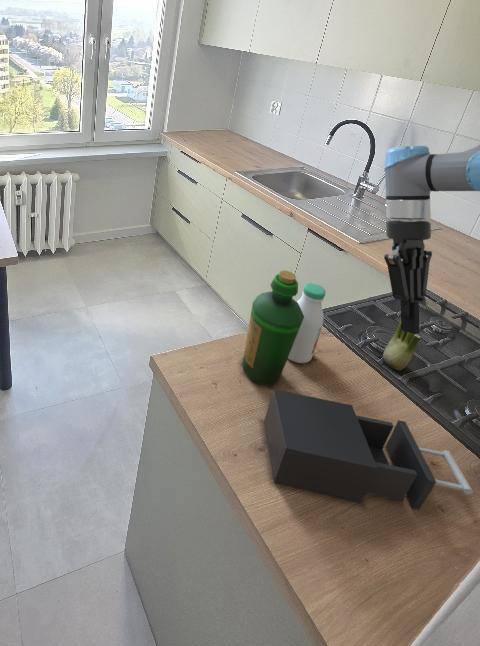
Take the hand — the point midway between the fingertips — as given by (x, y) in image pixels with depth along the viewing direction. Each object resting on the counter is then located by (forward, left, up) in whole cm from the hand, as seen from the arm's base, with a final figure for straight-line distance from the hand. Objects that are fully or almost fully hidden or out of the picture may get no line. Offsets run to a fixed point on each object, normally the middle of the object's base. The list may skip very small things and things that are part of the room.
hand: (410, 331), depth 88 cm
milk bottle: (+19, -4, -19) cm, 27 cm away
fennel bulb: (-3, -12, -19) cm, 22 cm away
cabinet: (+15, +25, -19) cm, 34 cm away
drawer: (+1, +22, -18) cm, 28 cm away
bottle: (+26, +7, -19) cm, 33 cm away
